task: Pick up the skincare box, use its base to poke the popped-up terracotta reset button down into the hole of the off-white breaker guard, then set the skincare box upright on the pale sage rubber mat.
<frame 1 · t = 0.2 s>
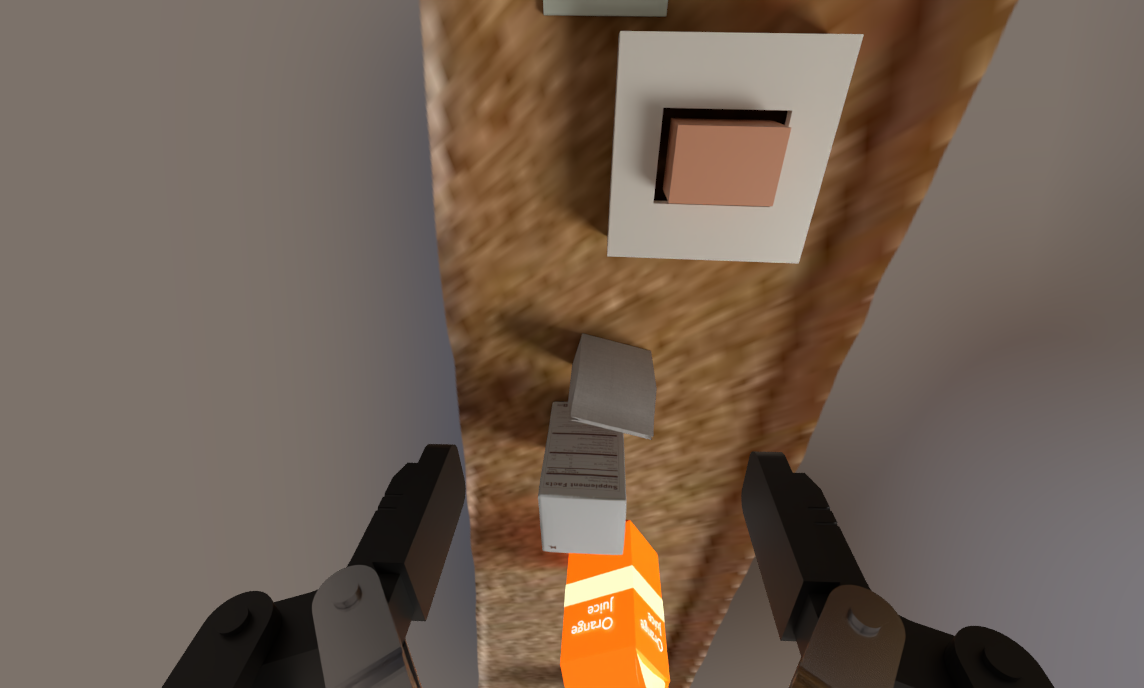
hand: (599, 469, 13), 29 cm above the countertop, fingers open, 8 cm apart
breaker guard: (706, 148, 35), on the countertop
orange juice: (613, 545, 60), on the countertop
supplement box: (587, 426, 50), on the countertop
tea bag: (611, 356, 45), on the countertop
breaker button: (720, 161, 30), point 5 cm above the countertop, slide at 0.0 cm
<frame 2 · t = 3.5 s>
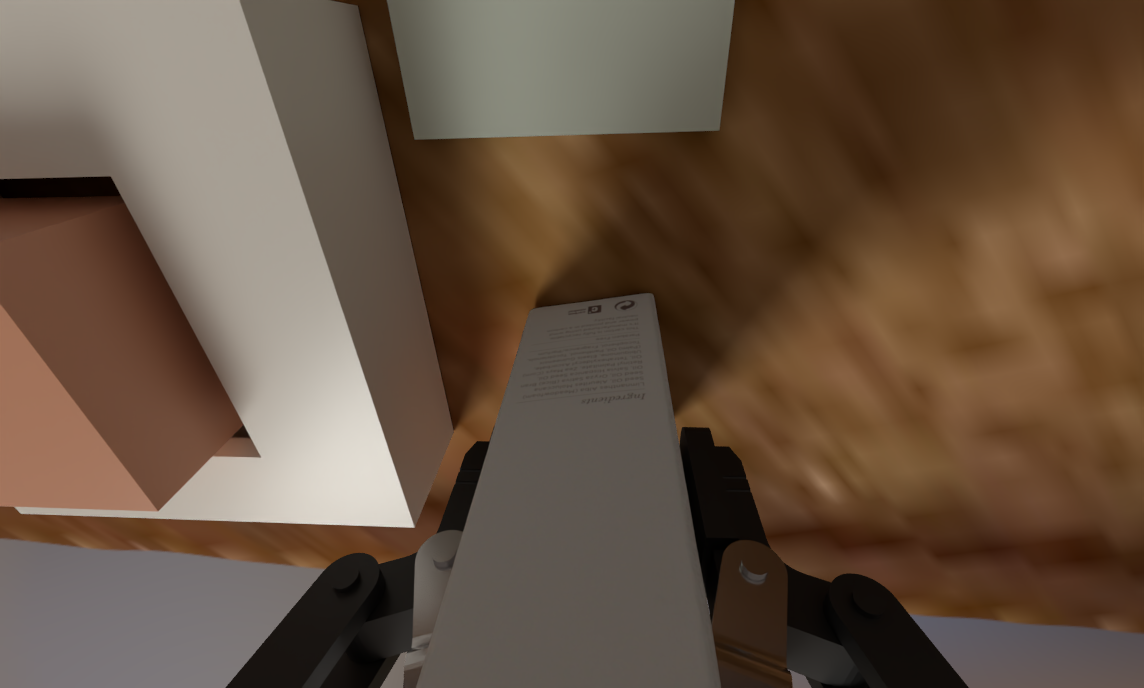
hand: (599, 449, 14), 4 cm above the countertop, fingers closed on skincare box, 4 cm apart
breaker guard: (215, 271, 16), on the countertop
skincare box: (602, 368, 17), on the countertop, touching gripper
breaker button: (66, 354, 11), point 5 cm above the countertop, slide at 0.0 cm
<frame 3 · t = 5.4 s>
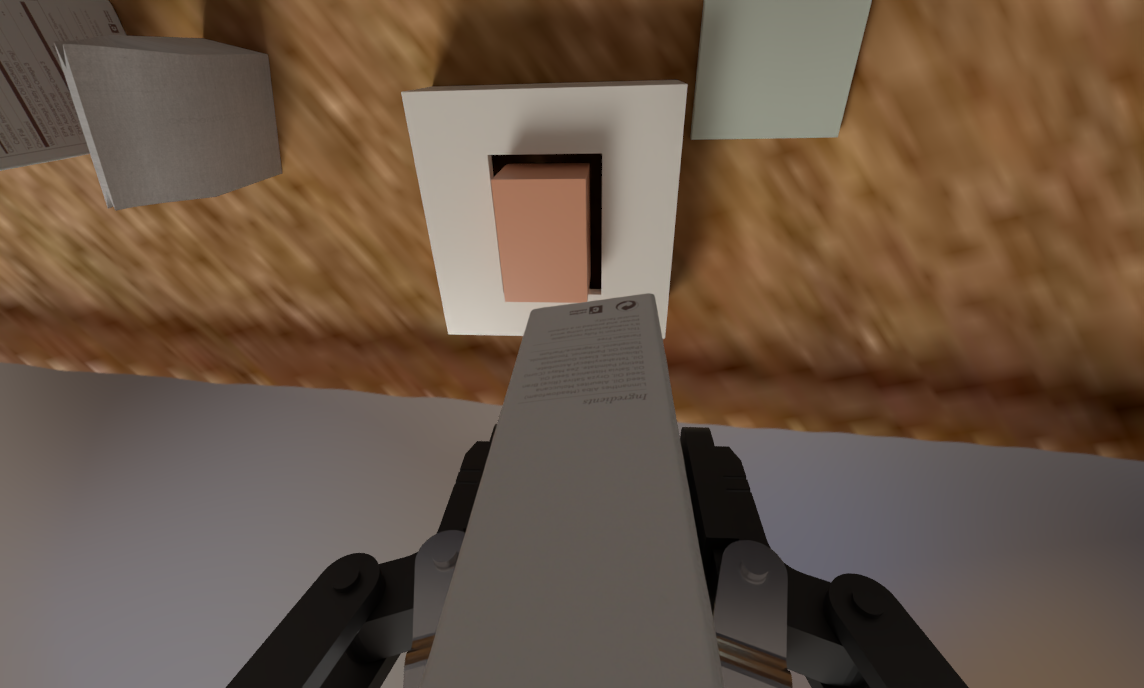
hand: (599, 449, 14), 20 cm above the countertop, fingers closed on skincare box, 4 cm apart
breaker guard: (557, 207, 30), on the countertop
skincare box: (603, 369, 17), point 16 cm above the countertop, touching gripper
supplement box: (97, 77, 29), on the countertop
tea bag: (247, 109, 29), on the countertop
mat: (774, 55, 25), on the countertop
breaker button: (546, 233, 26), point 5 cm above the countertop, slide at 0.0 cm
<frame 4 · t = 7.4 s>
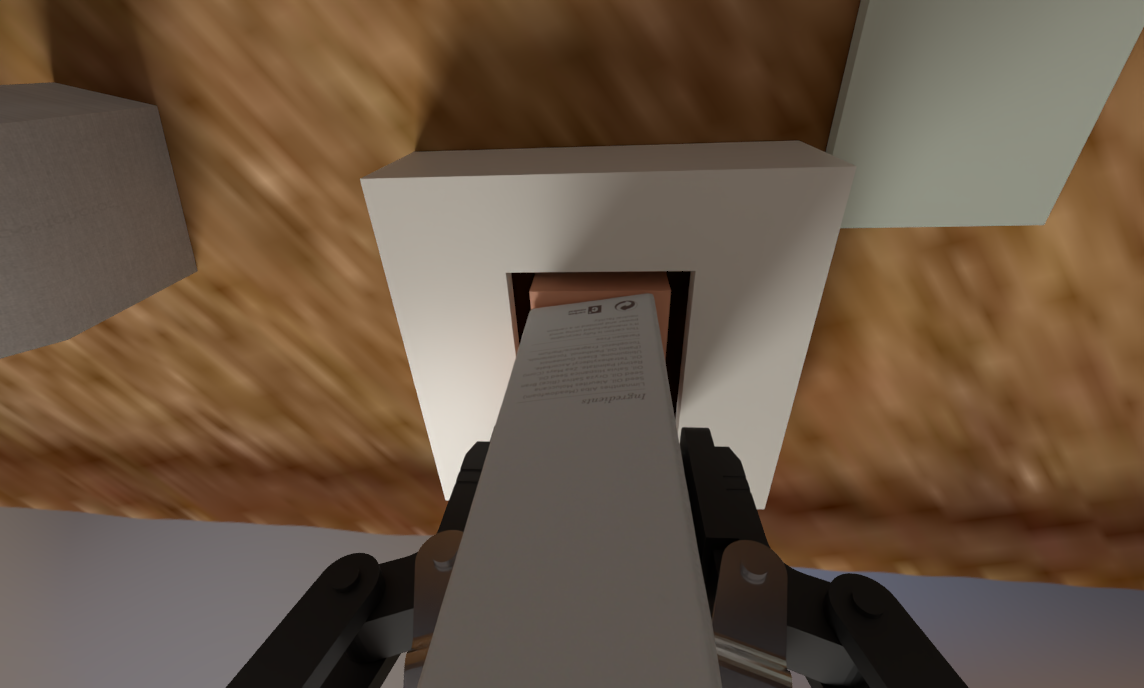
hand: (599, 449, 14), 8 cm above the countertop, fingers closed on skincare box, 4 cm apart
breaker guard: (601, 315, 21), on the countertop
skincare box: (602, 369, 17), point 4 cm above the countertop, touching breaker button, gripper
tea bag: (137, 184, 19), on the countertop
mat: (960, 103, 16), on the countertop
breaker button: (600, 346, 19), point 3 cm above the countertop, slide at 2.6 cm, touching skincare box
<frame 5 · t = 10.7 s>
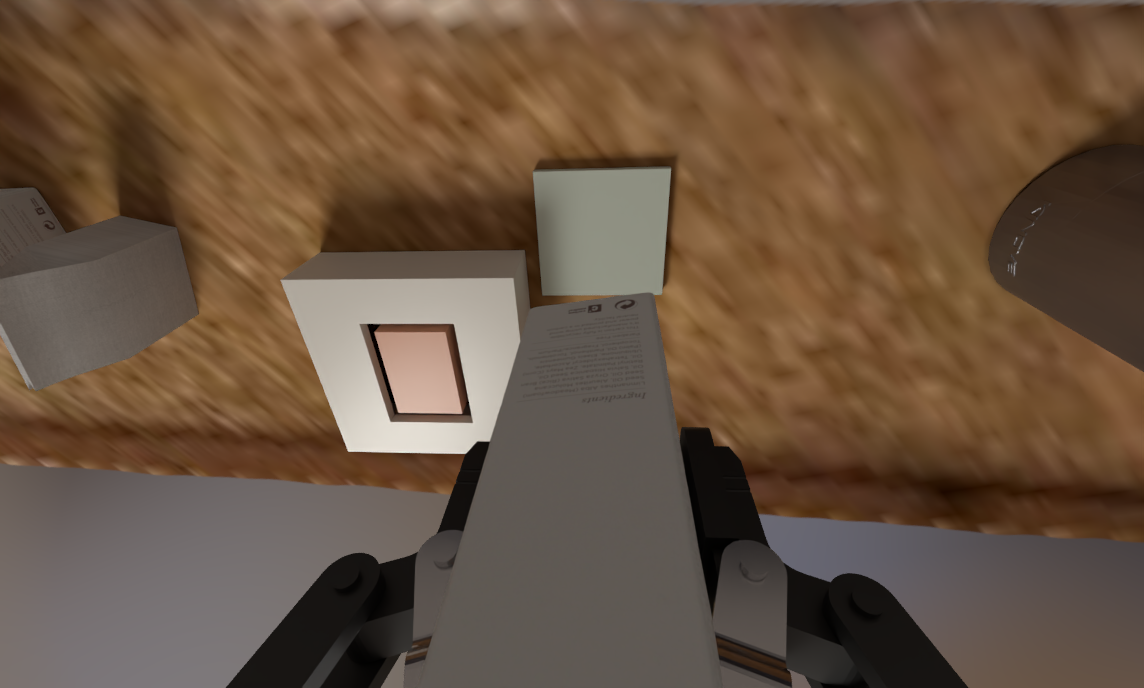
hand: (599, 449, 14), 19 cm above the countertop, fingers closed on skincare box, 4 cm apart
breaker guard: (440, 341, 35), on the countertop
skincare box: (602, 368, 17), point 15 cm above the countertop, touching gripper
supplement box: (30, 241, 33), on the countertop
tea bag: (164, 266, 33), on the countertop
mat: (601, 234, 30), on the countertop
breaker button: (429, 359, 33), point 2 cm above the countertop, slide at 2.7 cm
when the fingers open (6 cm above the countertop, at t = 13.5 s): skincare box drops 1 cm, resting on mat.
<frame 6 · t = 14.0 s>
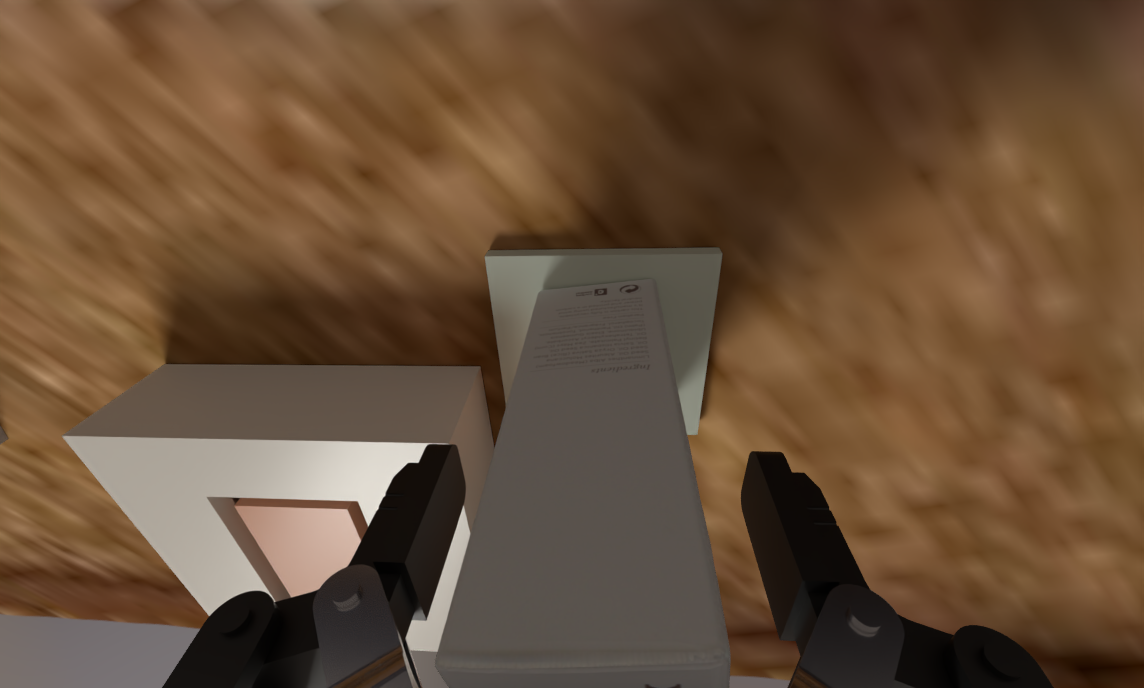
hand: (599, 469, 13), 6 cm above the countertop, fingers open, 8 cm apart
breaker guard: (363, 480, 23), on the countertop
skincare box: (604, 351, 18), resting on mat
mat: (601, 346, 18), on the countertop
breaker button: (339, 521, 21), point 2 cm above the countertop, slide at 2.7 cm
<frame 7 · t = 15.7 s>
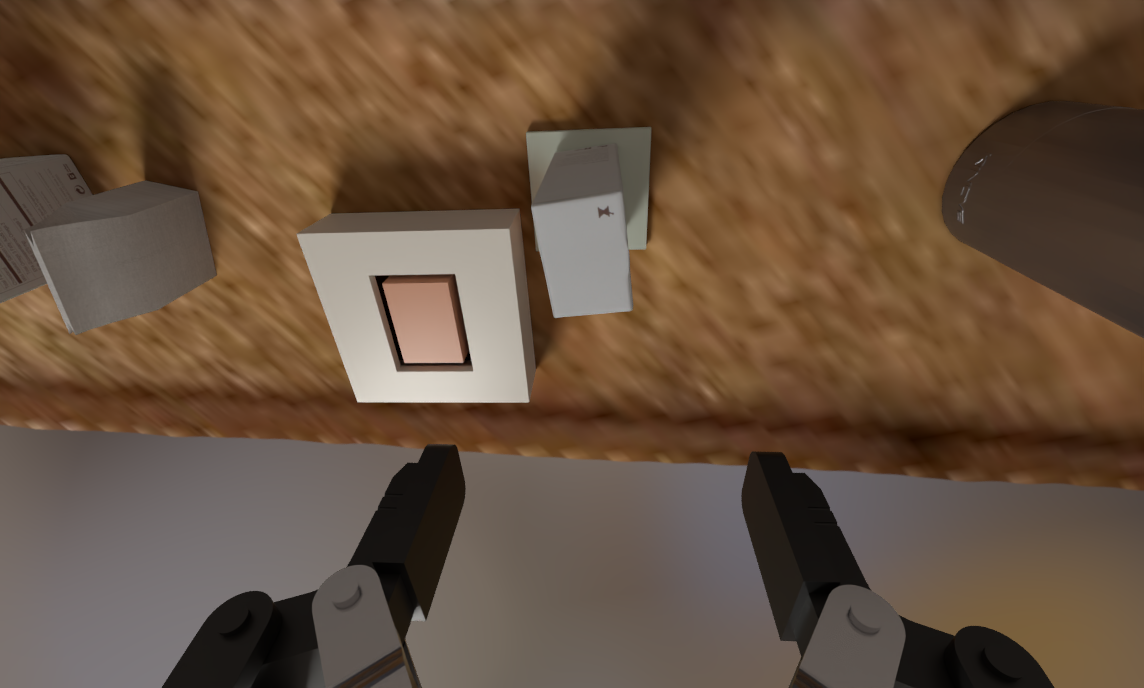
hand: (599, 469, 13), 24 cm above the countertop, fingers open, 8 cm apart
breaker guard: (442, 298, 37), on the countertop
skincare box: (590, 192, 32), resting on mat
supplement box: (60, 206, 35), on the countertop
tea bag: (185, 229, 36), on the countertop
mat: (589, 192, 32), on the countertop
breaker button: (432, 312, 35), point 2 cm above the countertop, slide at 2.7 cm
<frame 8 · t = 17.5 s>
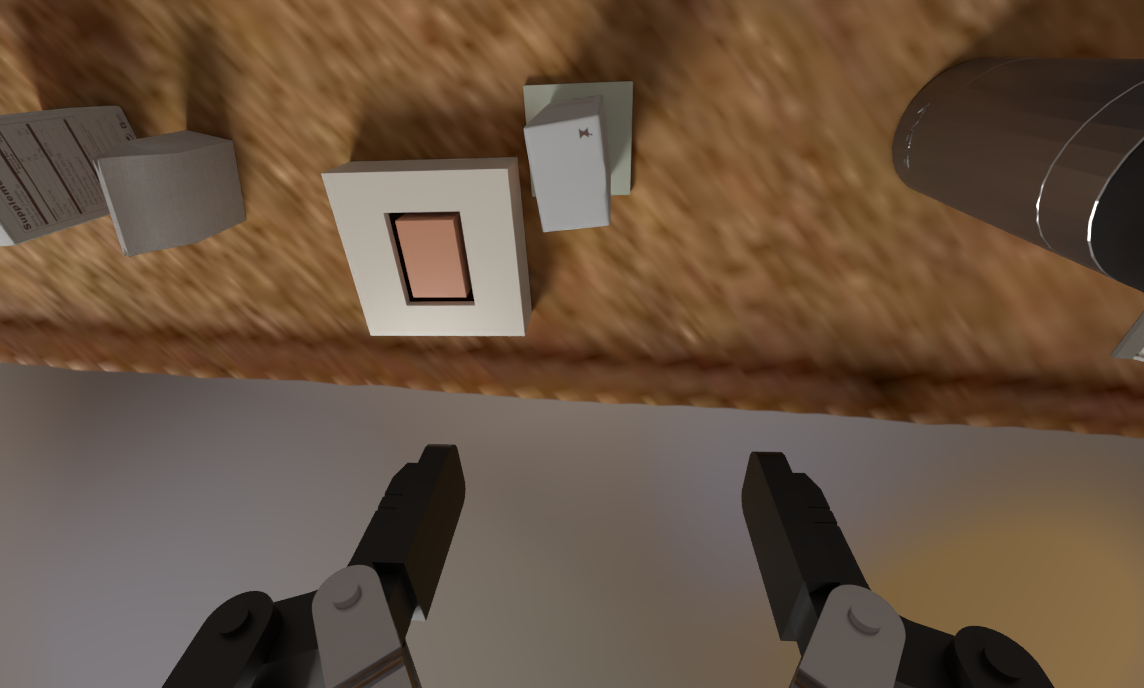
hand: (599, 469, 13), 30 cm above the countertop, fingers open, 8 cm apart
breaker guard: (447, 242, 42), on the countertop
skincare box: (580, 141, 36), resting on mat
supplement box: (110, 155, 40), on the countertop
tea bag: (219, 176, 40), on the countertop
mat: (579, 141, 36), on the countertop
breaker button: (439, 252, 39), point 2 cm above the countertop, slide at 2.7 cm
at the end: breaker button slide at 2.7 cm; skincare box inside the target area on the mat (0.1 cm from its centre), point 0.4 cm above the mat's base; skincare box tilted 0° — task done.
